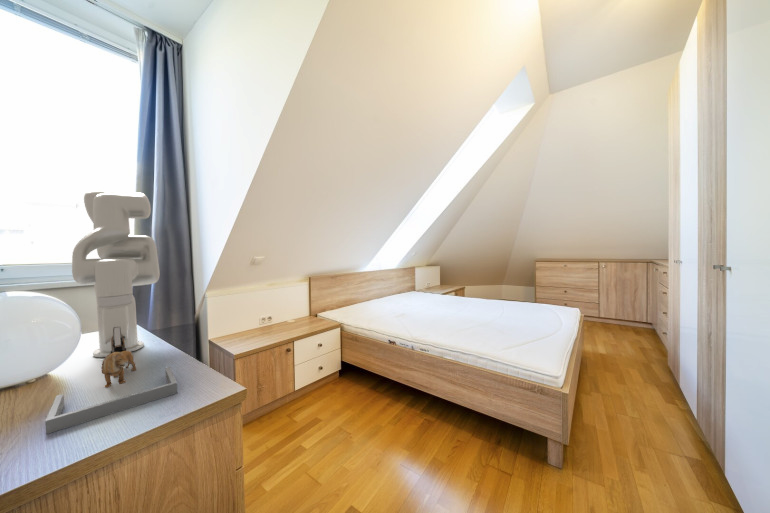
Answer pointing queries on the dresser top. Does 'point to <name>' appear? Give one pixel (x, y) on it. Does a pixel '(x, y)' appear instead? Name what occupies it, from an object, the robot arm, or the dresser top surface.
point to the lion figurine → (117, 366)
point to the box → (106, 405)
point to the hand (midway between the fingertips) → (119, 363)
